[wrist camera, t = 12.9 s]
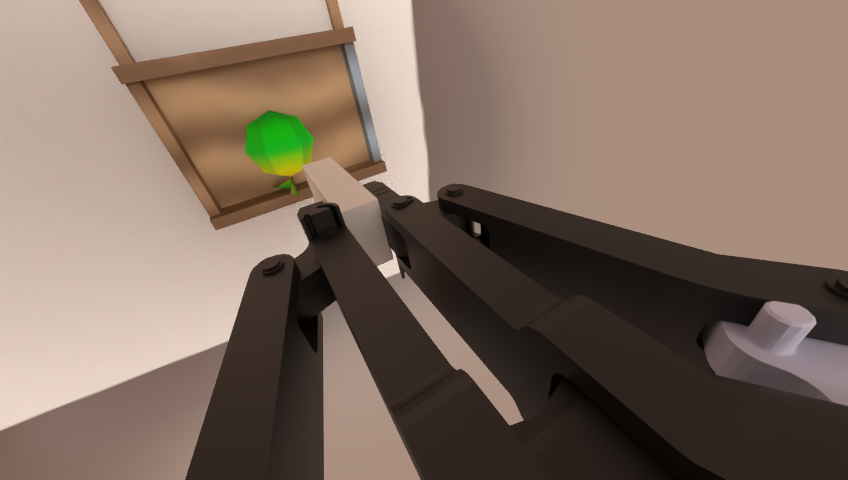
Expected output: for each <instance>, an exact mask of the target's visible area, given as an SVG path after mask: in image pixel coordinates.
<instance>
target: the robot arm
mask: <svg viewBox="0 0 848 480" xmlns="http://www.w3.org/2000/svg"><path fill="white" fill-rule="evenodd" d="M302 169H303V171H304V174H305V176H306V179H307V181H308V184H309V186H310V189H311V191H312V194H313V196H314V199H315V201H316V203H314V204H311V205H308V206H306V207H303V208H300V209H299V211H298V214H297V216H298V218H299V220H300V223H301V225H302V227H303V229H304V231H305V234H306V236H307V238H308V240H309V245H308V247H307V249H306V250H305V251H304V252H303V253H302V254H300V255H299V256H298V257H296V258H295V259H294V258H293V257H292V256H290V255H286V254H281V255H275V256H272V257H269V258H266V259H264V260H263V261H261V262H260V263H259V264H258V265H257V266H255V267H254V268H253V270H252V271H251V273H250V276H249V279H248V282H247V285H246V288H245V292H244V295H243V298H242V301H241V304H240V307H239V311H238V314H237V317H236V320H235V323H234V327H233V330H232V333H231V336H230V339H229V343H228V346H227V349H226V352H225V355H224V358H223V361H222V365H221V368H220V371H219V374H218V378H217V381H216V384H215V387H214V390H213V393H212V396H211V400H210V403H209V406H208V409H207V412H206V415H205V419H204V422H203V425H202V428H201V431H200V435H199V438H198V441H197V444H196V447H195V451H194V454H193V457H192V460H191V463H190V466H189V469H188V473H187V476H186V479H185V480H324V443H323V442H324V439H323V438H324V437H323V436H324V433H323V317H322V314H321V311H323V310H324V309H325V308H326V307H328V306H329V305H330V304H332V303H333V302H334V301H335V300H336V301H337V303H338V305H339V307H340V309H341V311H342V313H343V316H344V318H345V320H346V322H347V324H348V326H349V328H350V330H351V332H352V334H353V337H354V339H355V341H356V343H357V345H358V347H359V349H360V352H361V354H362V356H363V358H364V360H365V362H366V364H367V367H368V369H369V371H370V372H371V375H372V377H373V379H374V381H375V383H376V385H377V388H378V390H379V392H380V394H381V396H382V398H383V400H384V402H385V405H386V407H387V409H388V411H389V413H390V415H391V417H392V420H393V422H394V424H395V426H396V428H397V430H398V432H399V434H400V436H401V439H402V441H403V443H404V445H405V447H406V449H407V451H408V453H409V455H410V458H411V460H412V461H413V464H414V466H415V468H416V470H417V472H418V475H419V477H420V479H421V480H848V271H843V270H837V269H829V268H821V267H814V266H806V265H798V264H790V263H782V262H774V261H766V260H759V259H750V258H743V257H735V256H727V255H719V254H715V253H712V252H708V251H704V250H701V249H697V248H693V247H690V246H686V245H682V244H678V243H675V242H671V241H668V240H664V239H661V238H657V237H653V236H650V235H646V234H642V233H639V232H635V231H632V230H628V229H624V228H621V227H617V226H613V225H610V224H606V223H602V222H599V221H595V220H591V219H588V218H584V217H581V216H577V215H573V214H570V213H566V212H562V211H558V210H555V209H552V208H548V207H544V206H541V205H537V204H533V203H530V202H526V201H522V200H519V199H515V198H512V197H508V196H504V195H500V194H497V193H493V192H490V191H486V190H482V189H479V188H475V187H472V186H468V185H463V184H451V185H447V186H445V187H443V188H441V189H440V190H439V191H438V193H437V196H438V200H436V201H432V202H427V203H423V202H421V201H420V200H418V199H417V198H415V197H413V196H407V195H405V196H399V195H398V194H397V193H395V192H394V191H393V190H391V189H390V188H389V187H387V186H386V185H385V184H383V183H381V182H376V181H373V182H370V183H367V184H364V185H361V184H360V183H359V182H358V181H357V180H356V179H354V178H353V177H352V176H351V175H350V174H349V173H348V172H347V171H345V170H344V169H343V168H342V167H341V166H340V165H339V164H338V163H336V162H335V161H334V160H333V159H332V158H331V157H328V158H325V159H322V160H319V161H315V162H312V163H309V164H306V165H302ZM474 222H477V223H480V224H481V234H477V233H475V232H474ZM391 249H392V250H393V251H394V252H395V253H396V257H397V261H398V265H399V269H400V273H401V276H402V278H403V279H404V278H405V275H404V272H406V273H407V274H408V276H409V277H410V278H411V279H412V280H413V281H414V283H415V284H416V285H417V286H418V287H419V288H420V289H421V291H422V292H423V293H424V294H425V295H426V297H427V298H428V299H429V300H430V301H431V302H432V304H433V305H434V306H435V307H436V308H437V309H438V310H439V312H440V313H441V314H442V315H443V316H444V317H445V319H446V320H447V321H448V322H449V323H450V325H451V326H452V327H453V328H454V329H455V330H456V332H457V333H458V334H459V335H460V336H461V337H462V338H463V340H464V341H465V342H466V343H467V344H468V345H469V346H470V348H471V349H472V350H473V351H474V352H475V354H476V355H477V356H478V357H479V358H480V359H481V361H482V362H483V363H484V364H485V365H486V366H487V368H488V369H489V370H490V371H491V372H492V373H493V375H494V376H495V377H496V378H497V379H498V380H499V382H500V383H501V384H502V385H503V386H504V387H505V389H506V390H507V391H508V392H509V393H510V395H511V396H512V397H513V399H514V401H515V403H516V405H517V407H518V410H519V412H520V414H521V416H522V418H523V419H524V421H521V422H519V423H516V424H513V425H511V426H509V425H508V423H507V422H506V421H505V419H504V418H503V417H502V416H501V415H500V413H499V412H498V411H497V409H496V408H495V407H494V406H493V404H492V403H491V402H490V400H489V399H488V398H487V397H486V395H485V394H484V393H483V392H482V391H481V389H480V388H479V387H478V385H477V384H476V383H475V381H474V380H473V379H472V378H471V377H470V376H469V375H468V374H467V373H466V372H465V371H463V370H462V369H459V370H456V369H454V368H453V367H452V366H451V365H450V363H449V362H448V361H447V359H446V358H445V357H444V355H443V354H442V353H441V352H440V350H439V349H438V348H437V346H436V345H435V344H434V342H433V341H432V340H431V339H430V337H429V336H428V334H427V333H426V332H425V331H424V329H423V328H422V326H421V325H420V324H419V322H418V321H417V320H416V318H415V317H414V316H413V315H412V313H411V312H410V310H409V309H408V308H407V306H406V305H405V304H404V302H403V301H402V300H401V299H400V297H399V296H398V294H397V293H396V292H395V290H394V289H393V288H392V286H391V285H390V284H389V282H388V281H387V280H386V278H385V277H384V276H383V274H382V273H381V272H380V270H379V269H378V268H377V266H379V265H381V264H383V263H385V262H387V261H389V260H392V259H393V255H392V251H391Z"/></svg>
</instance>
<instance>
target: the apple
mask: <svg viewBox="0 0 848 480" xmlns="http://www.w3.org/2000/svg"><path fill="white" fill-rule="evenodd" d="M313 141H314V138H313V137H312V136H311V134H310V133H309V132H308V130H307V129H306V128H305V126H304V125H303V124H302V122H301V121H300V120H299V118H298V117H296V116H292V115H288V114H283V113H279V112H275V111H270V110H269V111H267V112H266V113H264V114H263V115H261V116H260V117H258V118H257V119H255V120H254V121H252V122H251V123H249V124H248V125H247V127H246V151H245V152H246V154H247V155H248V156H249V157H250V158H251V159H252V160H253V161H254V162H255V163H256V164H257V165H258V166H259V167H260V168H261V170H262V171H263V172H264V173H267V174H275V175H283V176H290V180H289V181H287V182H285V183H283V184H281V185H279V186H276V187H272V188H284V189H291V194H294V195H297V196H299V194H298V191H297V188H296V185H295V183H294V180H293V177H292V176H293V175H295V174H297V173H298V172H300V171H301V170H303V169H302V165H306V164H309V163H311V158H312V149H313Z"/></svg>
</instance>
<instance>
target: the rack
mask: <svg viewBox="0 0 848 480" xmlns="http://www.w3.org/2000/svg"><path fill="white" fill-rule="evenodd" d="M79 1H80V3H81V4H82V6H83V7H84V9H85V11H86V12H87V14H88V15H89V17H90V19H91V20H92V22H93V23H94V25H95V26H96V28H97V30H98V31H99V33H100V34H101V36H102V38H103V39H104V41H105V42H106V44H107V46H108V47H109V49H110V50H111V52H112V54H113V55H114V57H115V58H116V60H117V61H118V63H119V65H120V66H114V67H111V68H112V70H113V71H114V73H115V74H116V76H117V77H118V79H119V81H120V82H121V84H126V86H127V87H128V89H129V91H130V92H131V94H132V95H133V97H134V98H135V100H136V101H137V103H138V105H139V106H140V108H141V109H142V111H143V112H144V114H145V116H146V117H147V119H148V120H149V122H150V123H151V125H152V126H153V128H154V130H155V131H156V133H157V134H158V136H159V137H160V139H161V141H162V142H163V144H164V145H165V147H166V148H167V150H168V152H169V153H170V155H171V156H172V158H173V159H174V161H175V162H176V164H177V166H178V167H179V169H180V170H181V172H182V173H183V175H184V177H185V178H186V180H187V181H188V183H189V184H190V186H191V187H192V189H193V191H194V192H195V194H196V195H197V197H198V198H199V200H200V202H201V203H202V205H203V206H204V208H205V209H206V211H207V213H208V214H209V216H210V222H211V223H212V225H213V226H214V228H215V229H216V230H218V229H221V228H224V227H227V226H230V225H233V224H236V223H239V222H242V221H244V220H247V219H250V218H253V217H256V216H259V215H262V214H265V213H267V212H270V211H273V210H276V209H279V208H282V207H285V206H288V205H290V204H293V203H296V202H299V201H302V200H305V199H308V198H311V197H313V194H312V191H311V189H310V186H309V184H308V181H307V179H306V176H305V174H304V171H303V170H301V171H300V172H298V173H297V174H295V175H293V176H292V177H293V180H294V183H295V185H296V188H297V191H298V194H299V196H297V195H294V194H291V189H284V188H272V187H276V186H279V185H281V184H283V183H285V182H287V181H289V180H290V176H283V175H275V174H267V173H264V172H263V171H262V170H261V168H260V167H259V166H258V165H257V164H256V163H255V162H254V161H253V160H252V159H251V158H250V157H249V156H248V155H247V154H246V152H245V151H246V127H247V125H248V124H249V123H251V122H252V121H254V120H255V119H257V118H258V117H260V116H261V115H263V114H264V113H266V112H267V111H269V110H270V111H275V112H279V113H283V114H288V115H292V116H296V117H298V118H299V120H300V121H301V122H302V124H303V125H304V126H305V128H306V129H307V130H308V132H309V133H310V134H311V136H312V137H313V138H314V141H313V149H312V158H311V163H312V162H315V161H319V160H322V159H325V158H328V157H331V158H332V159H333V160H334V161H335V162H336V163H338V164H339V165H340V166H341V167H342V168H343V169H344V170H345V171H347V172H348V173H349V174H350V175H351V176H352V177H353V178H354V179H356V180H357V181H359V180H362V179H365V178H368V177H371V176H374V175H377V174H380V173H382V172H385V171H387V170H386V165H385V162H384V161H382V159H381V155H380V151H379V147H378V143H377V139H376V134H375V130H374V126H373V122H372V118H371V114H370V110H369V105H368V101H367V97H366V93H365V89H364V85H363V81H362V76H361V72H360V68H359V64H358V60H357V56H356V52H355V47H354V43H353V42H354V41H356V38H355V34H354V30H353V27H348V28H344V26H343V22H342V18H341V14H340V10H339V6H338V2H337V0H326V4H327V7H328V11H329V15H330V19H331V22H332V26H333V30H330V31H324V32H318V33H312V34H306V35H300V36H294V37H288V38H282V39H276V40H270V41H264V42H258V43H252V44H246V45H240V46H234V47H228V48H222V49H216V50H210V51H204V52H198V53H192V54H186V55H180V56H174V57H168V58H162V59H156V60H150V61H144V62H138V63H135V61H134V60H133V58H132V56H131V55H130V53H129V51H128V50H127V48H126V46H125V45H124V43H123V41H122V40H121V38H120V36H119V35H118V33H117V32H116V30H115V28H114V27H113V25H112V23H111V22H110V20H109V18H108V17H107V15H106V13H105V12H104V10H103V8H102V7H101V5H100V3H99V2H98V0H79Z"/></svg>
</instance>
